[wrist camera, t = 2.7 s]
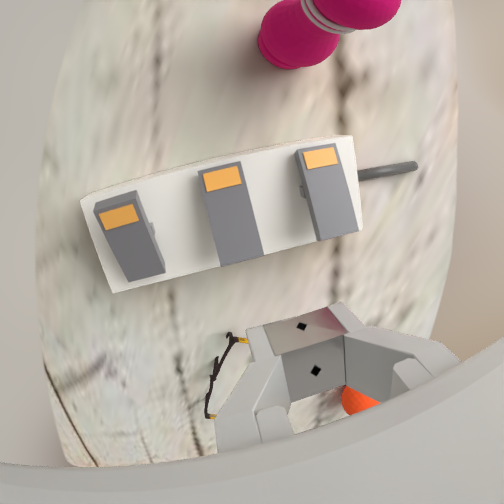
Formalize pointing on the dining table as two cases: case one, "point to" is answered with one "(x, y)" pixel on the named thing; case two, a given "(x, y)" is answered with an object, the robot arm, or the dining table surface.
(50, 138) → the dining table surface
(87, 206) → the power strip
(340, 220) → the rocker
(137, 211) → the block
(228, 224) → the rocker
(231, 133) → the dining table surface
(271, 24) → the pepper mill
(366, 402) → the clementine
